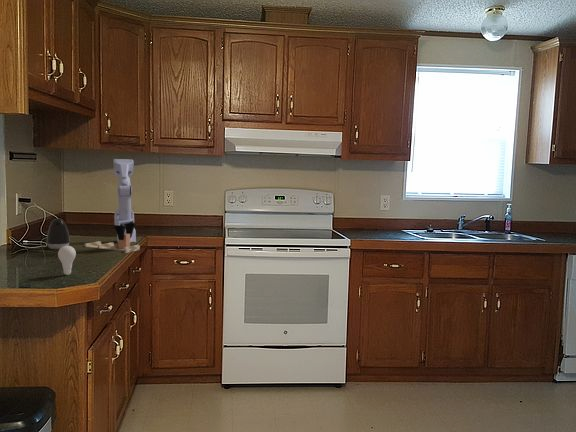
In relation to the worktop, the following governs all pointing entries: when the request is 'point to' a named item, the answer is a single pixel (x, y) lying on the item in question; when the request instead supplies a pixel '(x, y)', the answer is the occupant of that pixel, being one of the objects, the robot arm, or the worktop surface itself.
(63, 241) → the dark grey dome
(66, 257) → the lightbulb
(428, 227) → the worktop surface
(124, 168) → the robot arm
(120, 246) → the block
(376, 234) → the worktop surface
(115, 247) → the notched rack
